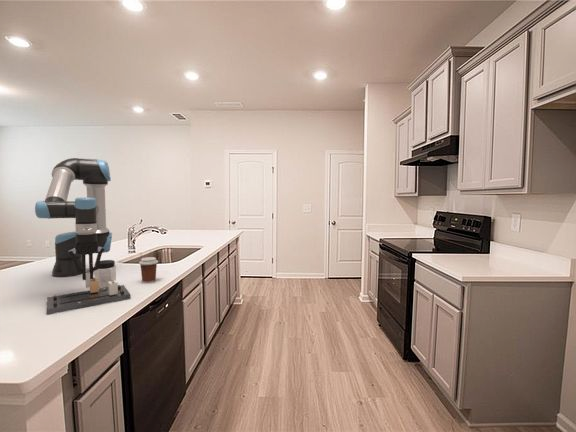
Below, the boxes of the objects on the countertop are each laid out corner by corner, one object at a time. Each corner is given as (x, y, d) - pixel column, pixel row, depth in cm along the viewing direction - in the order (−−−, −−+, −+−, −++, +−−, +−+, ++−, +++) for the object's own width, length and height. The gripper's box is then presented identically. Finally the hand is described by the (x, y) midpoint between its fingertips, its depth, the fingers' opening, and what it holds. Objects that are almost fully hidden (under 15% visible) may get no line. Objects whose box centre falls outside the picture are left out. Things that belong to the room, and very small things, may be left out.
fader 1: (89, 290, 127) (89, 278, 126) (97, 289, 129) (97, 277, 128) (90, 293, 124) (90, 280, 123) (98, 291, 125) (98, 279, 125)
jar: (94, 289, 136) (93, 264, 135) (94, 284, 143) (94, 261, 142) (116, 286, 141) (116, 262, 140) (115, 282, 147) (115, 259, 147)
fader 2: (108, 292, 124) (107, 280, 124) (116, 291, 126) (115, 279, 126) (109, 295, 121) (109, 282, 121) (117, 293, 123) (117, 281, 123)
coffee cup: (145, 284, 144) (145, 261, 144) (135, 281, 149) (135, 258, 148) (162, 280, 152) (161, 258, 151) (151, 277, 157) (151, 255, 156)
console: (47, 301, 119) (47, 294, 119) (123, 289, 137) (123, 282, 137) (46, 314, 107) (46, 306, 107) (130, 298, 125) (130, 292, 124)
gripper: (67, 235, 116) (69, 292, 118) (105, 233, 124) (106, 286, 126) (67, 233, 122) (68, 287, 123) (103, 231, 130) (104, 282, 132)
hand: (87, 286), depth 125 cm, fingers closed
